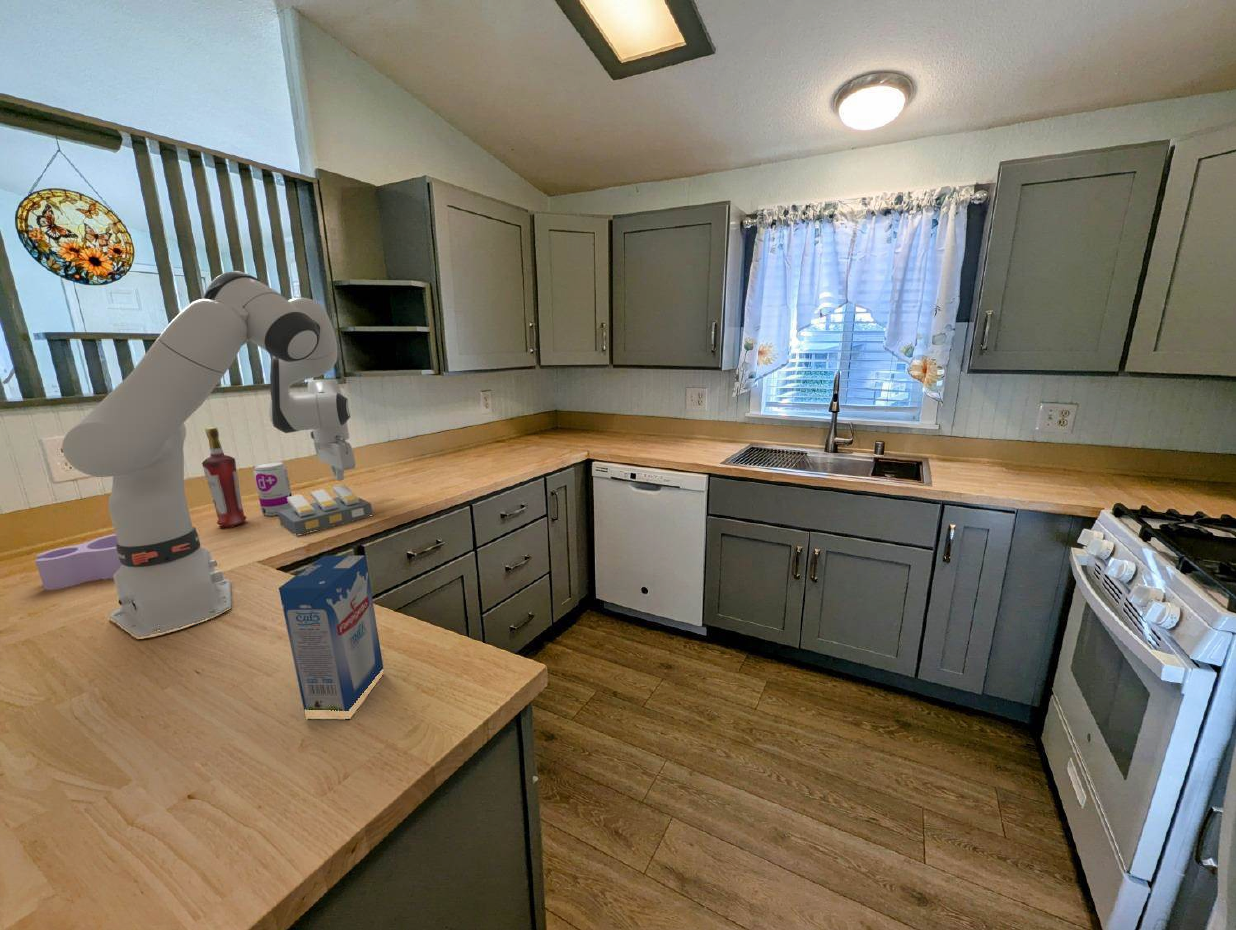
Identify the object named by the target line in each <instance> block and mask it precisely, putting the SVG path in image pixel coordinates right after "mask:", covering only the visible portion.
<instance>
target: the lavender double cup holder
mask: <svg viewBox="0 0 1236 930" xmlns="http://www.w3.org/2000/svg"><path fill="white" fill-rule="evenodd" d="M117 543H118V540H117V537H116V533H114V534H109V535H105V536H101V537H98V538H95V539H92V540H89V541H87V542H83V543H80V544H75V545H68V546H64V547H63V546H62V547H58V548H54V549H51V550H47V551H44V552H41V553H37V554H36V555H35V557H36V559H35V561H34V562H35V564H36V567H37V571H38V573H39V576H40V580H41V583H42V585H43V588H44V590H45V591H53V590H54V591H55V590H60V589H65V587H66V588H69V586H70V587H73V586H74V587H75V586H76V585H79V584H82V583H83V584H84V583H86V582H85V581H87V582H91V581H96V580H97V581H99V579H103V580H108V578H111V579H114V578H113V575H114V574H115V573H116V572H117V571H118V570H119V569H120V567H121V565H122V564H121V563H120V560H119V557H118V555H117V552H116V551H117V548H116V544H117Z"/></svg>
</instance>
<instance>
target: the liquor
mask: <svg viewBox="0 0 1236 930" xmlns="http://www.w3.org/2000/svg"><path fill="white" fill-rule="evenodd" d="M204 430H205V433H206V437H207V439H208V443H209V452H210V453H209V454H210V456H209V457H207V458H206V459H204V460H203V461H202V462H201V465H202V468H203V471H204V475H205V479H206V482H207V485H208V488H209V491H210V495H211V498H212V501H213V506H214V508H215V512H216V516H217V521H216V524H217V525H219V526H221V527H222V528H234V527H233V526H235V527H238V526H241V525H242V524H243V523H244V522H245V521H246V520H247V518H248V517H247V516H246V515H245V513H244V507H243V502H242V497H241V492H240V490H241V489H240V484H239V475H238V469H237V465H236V464H237V463H236V458H234V457H232V456H231V455H226V454H224V450H223V448H222V445H221V441H220V439H219V438H220V435H219V434H220V433H219V428H218V427H208V428H205V429H204ZM237 525H238V526H237Z"/></svg>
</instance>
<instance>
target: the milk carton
mask: <svg viewBox="0 0 1236 930" xmlns="http://www.w3.org/2000/svg"><path fill="white" fill-rule="evenodd" d="M368 569H369V568H368V562H367V554H366V555H364V554H362V555H361V554H360V555H359V554H358V555H355V554H354V555H349V554H348V555H323V556H321V557H320V558H319V559H317V560H316V561H314V562H313V563H311V564H310V565H309V566H308V567H306V568H304V569H303V570H301V571H300V572H299V573H298V574H296V575H295V576H294V577H292V578H291V579H289V580H288V581H287V582H285V583H283V584H282V585H281V586H280V587H278V591H279V596H280V601H281V606H282V611H283V616H284V619H285V621H284V622H285V624H286V629H287V633H288V635H287V636H288V639H289V645H290V648H291V649H290V650H291V655H292V659H293V664H294V668H295V673H296V678H297V683H298V687H299V692H300V697H301V702H302V706H303V707H302V708H303V711H304V710H305V709H306V710H331V711H332V710H334V711H335V710H336V711H338V710H339V711H349V709H350V708H351V707H352V706H353V705H354V703H356V701H357V700H358V698H360V696H361V695H362V693H364V691H365V690H366V689H367V688H368V686H369V685H370V684H371V683H372V681H373V680H374V679H375V677H376V676H377V675H378V674H379V673H380V671H381V670H382V669H384V664H383V657H382V651H381V645H380V638H379V631H378V624H377V619H376V613H375V606H374V599H373V593H372V587H371V581H370V580H371V579H370V574H369V570H368Z"/></svg>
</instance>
